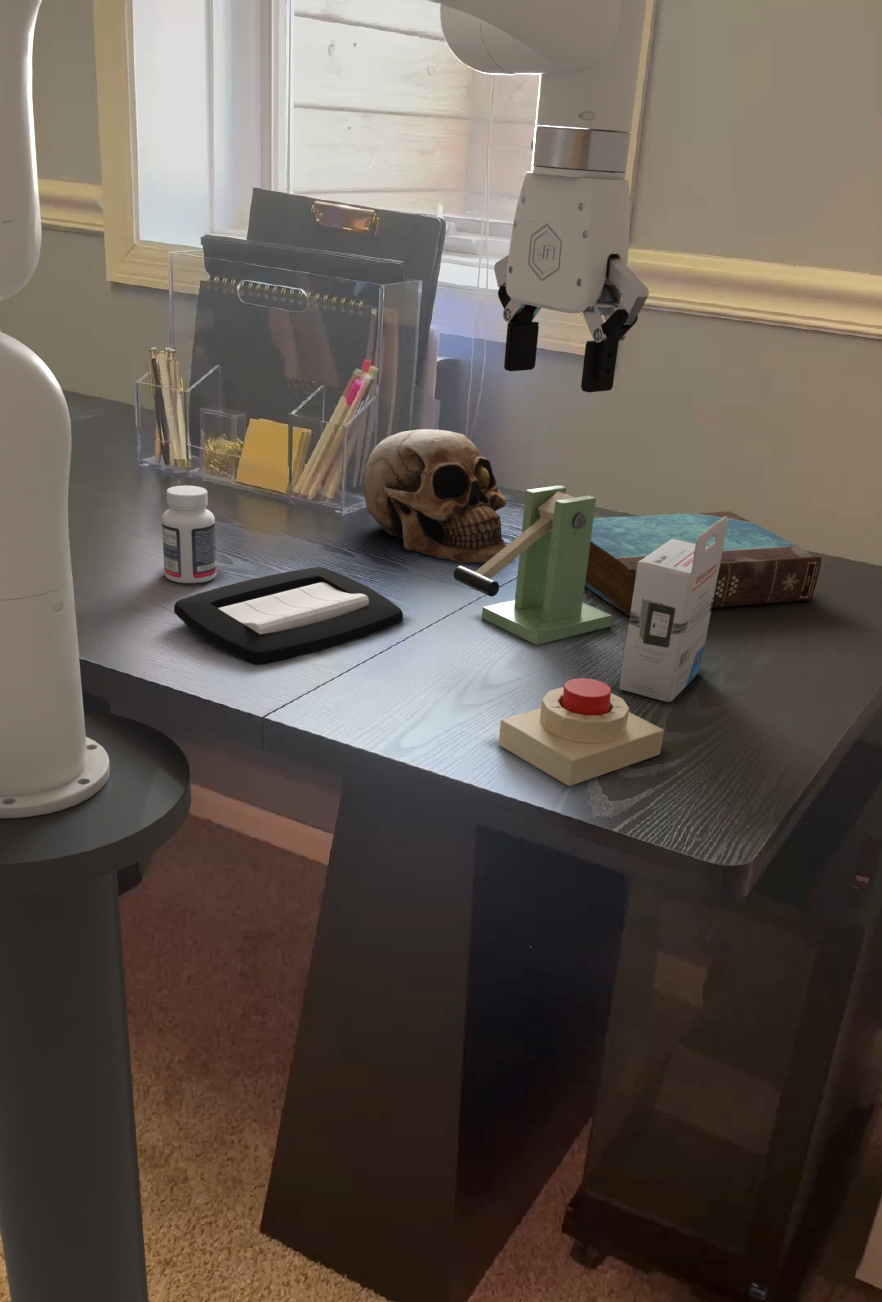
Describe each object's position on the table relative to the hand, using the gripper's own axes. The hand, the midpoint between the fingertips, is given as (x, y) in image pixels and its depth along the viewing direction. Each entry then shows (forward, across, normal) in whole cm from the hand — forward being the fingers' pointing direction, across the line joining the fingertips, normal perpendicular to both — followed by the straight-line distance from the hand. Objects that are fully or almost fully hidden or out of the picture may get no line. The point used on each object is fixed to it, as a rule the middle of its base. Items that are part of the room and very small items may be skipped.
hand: (556, 379), depth 103 cm
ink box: (+24, +14, +3) cm, 28 cm away
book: (+24, -4, +26) cm, 36 cm away
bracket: (+24, -2, +4) cm, 24 cm away
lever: (+16, -2, 0) cm, 16 cm away
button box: (+24, +20, -13) cm, 34 cm away
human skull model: (+24, -28, +11) cm, 38 cm away
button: (+20, +20, -13) cm, 31 cm away
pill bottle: (+24, -30, -20) cm, 43 cm away
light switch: (+24, -14, -18) cm, 33 cm away
